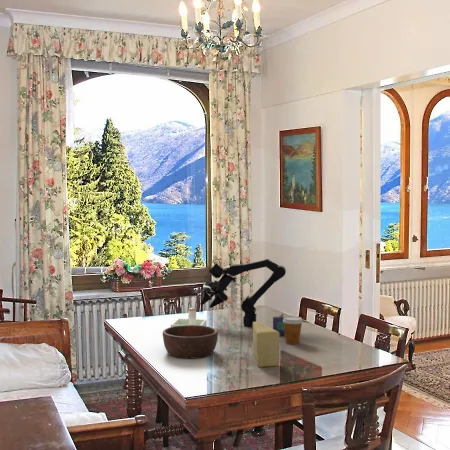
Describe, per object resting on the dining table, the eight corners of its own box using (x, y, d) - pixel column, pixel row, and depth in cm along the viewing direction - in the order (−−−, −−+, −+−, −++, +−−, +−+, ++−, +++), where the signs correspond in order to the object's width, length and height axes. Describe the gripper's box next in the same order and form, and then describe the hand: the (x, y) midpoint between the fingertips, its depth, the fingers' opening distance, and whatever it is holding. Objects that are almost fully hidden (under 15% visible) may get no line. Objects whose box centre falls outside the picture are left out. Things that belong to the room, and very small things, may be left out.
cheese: (244, 354, 283) (244, 321, 282) (264, 352, 285) (265, 320, 284) (257, 367, 261) (257, 331, 260) (279, 366, 263) (280, 330, 263)
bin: (206, 326, 338) (206, 319, 338) (201, 333, 322) (201, 325, 322) (177, 325, 340) (177, 318, 340) (170, 332, 324) (170, 324, 324)
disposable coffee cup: (305, 341, 306) (305, 317, 305) (298, 345, 297) (299, 320, 296) (286, 339, 310) (286, 315, 309) (279, 343, 301) (280, 319, 300)
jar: (197, 327, 332) (197, 308, 331) (192, 328, 329) (192, 309, 328) (192, 326, 335) (192, 307, 334) (186, 327, 332) (186, 308, 331)
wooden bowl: (175, 363, 267) (175, 339, 267) (154, 350, 289) (154, 328, 289) (227, 356, 279) (227, 333, 278) (203, 344, 301) (203, 322, 300)
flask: (290, 333, 322) (291, 313, 322) (291, 335, 319) (291, 314, 319) (272, 333, 323) (272, 312, 322) (273, 334, 320) (273, 314, 319)
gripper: (205, 272, 345) (187, 294, 340) (223, 276, 329) (204, 299, 324) (217, 285, 350) (200, 307, 345) (235, 289, 334) (218, 312, 329)
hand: (205, 306), depth 335 cm, fingers open, 9 cm apart
